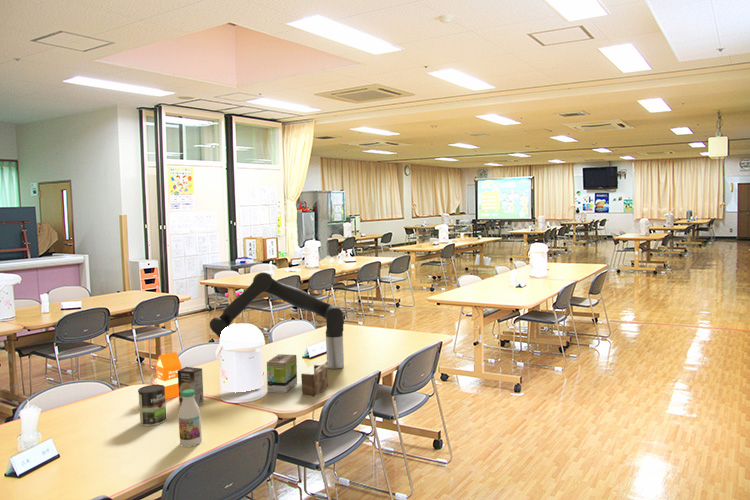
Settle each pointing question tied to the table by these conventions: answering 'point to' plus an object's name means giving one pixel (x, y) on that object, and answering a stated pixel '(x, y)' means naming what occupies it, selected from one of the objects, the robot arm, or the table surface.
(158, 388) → the coffee can
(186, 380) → the coffee box
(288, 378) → the tea box
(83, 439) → the table surface
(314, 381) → the display stand
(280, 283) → the robot arm
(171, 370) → the orange juice
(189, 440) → the milk bottle
